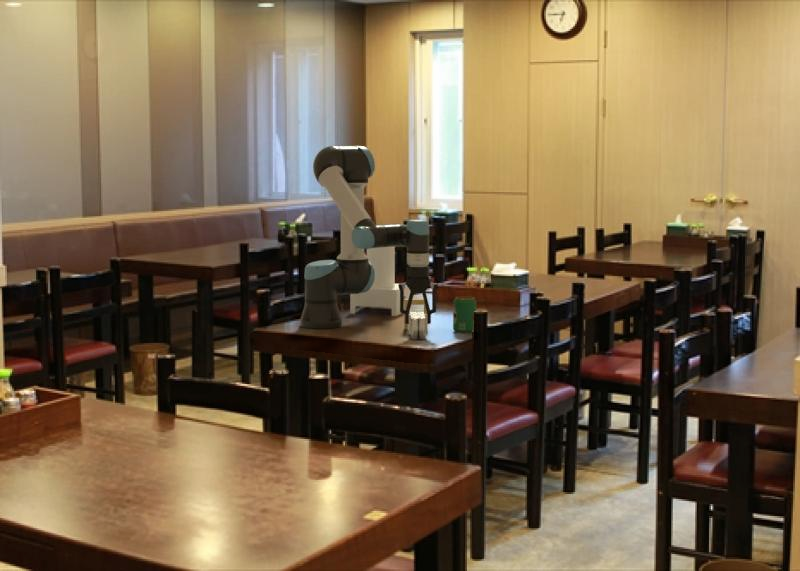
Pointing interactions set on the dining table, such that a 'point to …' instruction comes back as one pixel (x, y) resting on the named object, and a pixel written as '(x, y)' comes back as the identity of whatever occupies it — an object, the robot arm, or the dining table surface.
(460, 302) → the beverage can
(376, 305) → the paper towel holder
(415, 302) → the tan flat upright block
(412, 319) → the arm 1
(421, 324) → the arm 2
